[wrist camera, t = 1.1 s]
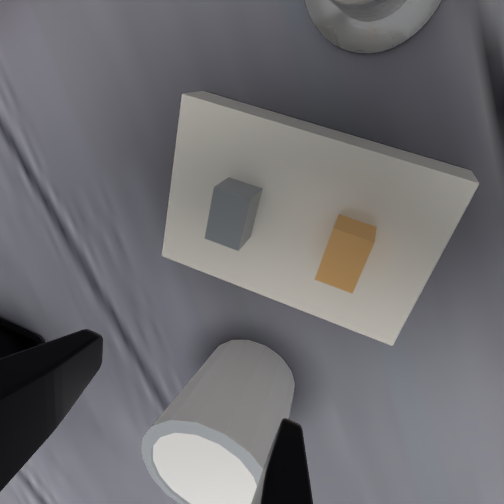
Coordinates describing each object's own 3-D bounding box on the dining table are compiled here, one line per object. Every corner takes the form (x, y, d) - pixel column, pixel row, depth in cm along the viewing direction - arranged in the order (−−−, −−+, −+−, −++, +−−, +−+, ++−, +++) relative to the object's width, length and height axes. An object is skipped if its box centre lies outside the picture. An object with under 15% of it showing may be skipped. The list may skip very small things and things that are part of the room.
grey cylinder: (195, 322, 24) (127, 407, 18) (305, 340, 22) (270, 443, 16) (206, 406, 27) (151, 503, 21) (305, 429, 25) (274, 544, 19)
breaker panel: (180, 240, 22) (144, 269, 19) (202, 90, 18) (161, 96, 15) (393, 321, 20) (391, 369, 17) (471, 170, 16) (488, 196, 13)
